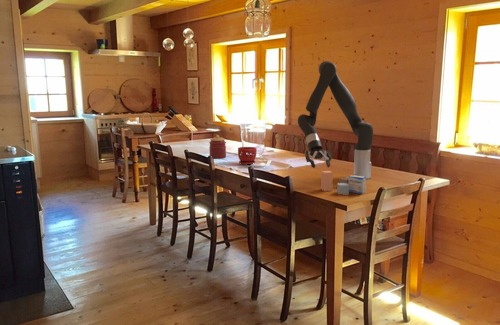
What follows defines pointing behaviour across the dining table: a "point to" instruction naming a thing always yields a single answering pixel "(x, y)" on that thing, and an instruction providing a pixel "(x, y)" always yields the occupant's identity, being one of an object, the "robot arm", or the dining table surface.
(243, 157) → the plant pot
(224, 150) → the canister
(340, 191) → the slate blue cube
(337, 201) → the dining table surface
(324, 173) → the terracotta block
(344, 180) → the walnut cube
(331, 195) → the dining table surface
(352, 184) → the medicine box
